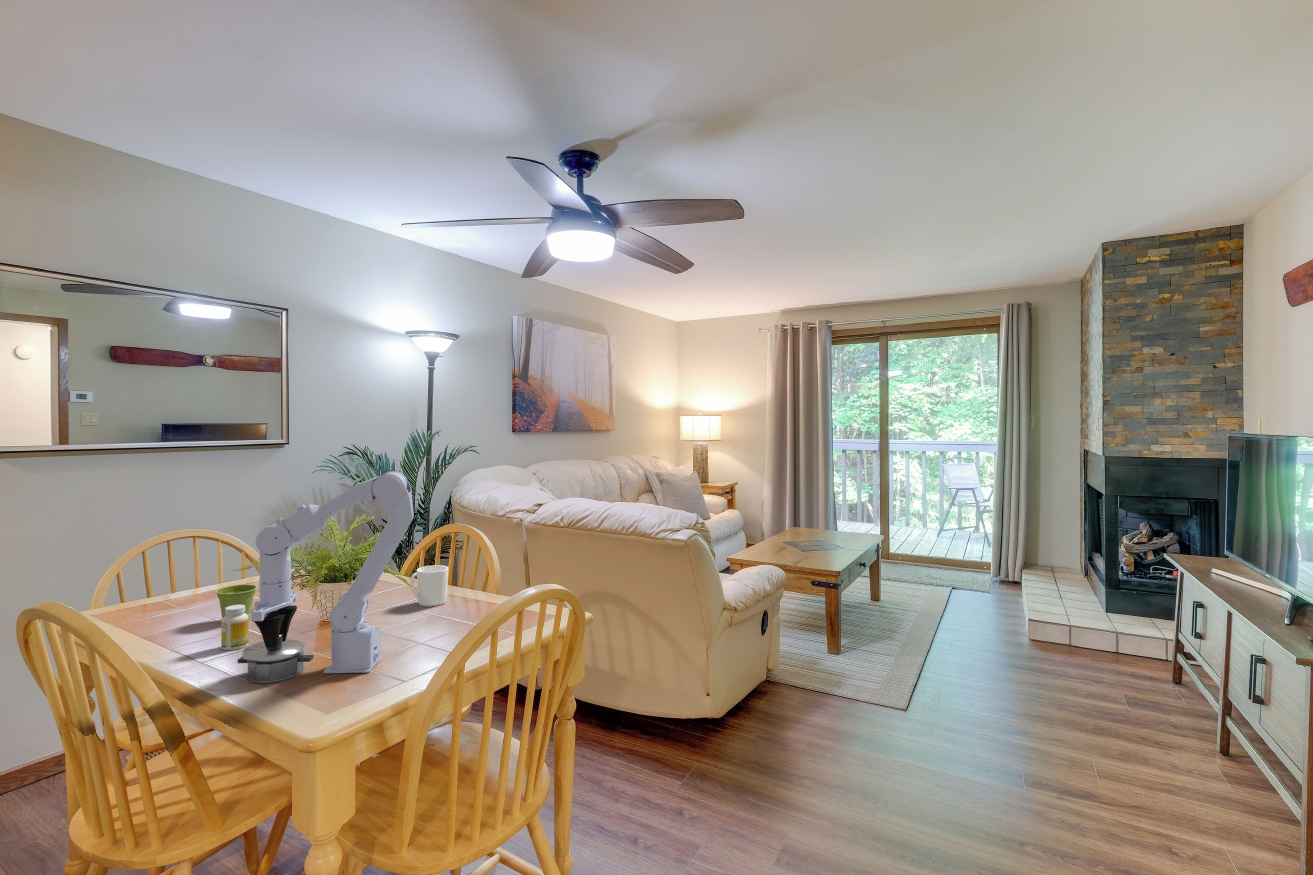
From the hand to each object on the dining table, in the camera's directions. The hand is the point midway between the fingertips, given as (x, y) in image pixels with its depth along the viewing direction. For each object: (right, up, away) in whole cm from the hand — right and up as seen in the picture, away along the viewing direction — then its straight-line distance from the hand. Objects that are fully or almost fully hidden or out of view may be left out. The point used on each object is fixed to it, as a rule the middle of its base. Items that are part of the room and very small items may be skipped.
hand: (275, 644), depth 131 cm
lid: (0, -3, 0) cm, 3 cm away
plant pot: (-32, -6, +35) cm, 47 cm away
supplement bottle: (-19, -6, +16) cm, 26 cm away
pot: (0, -6, 0) cm, 6 cm away
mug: (+14, -6, +51) cm, 54 cm away
